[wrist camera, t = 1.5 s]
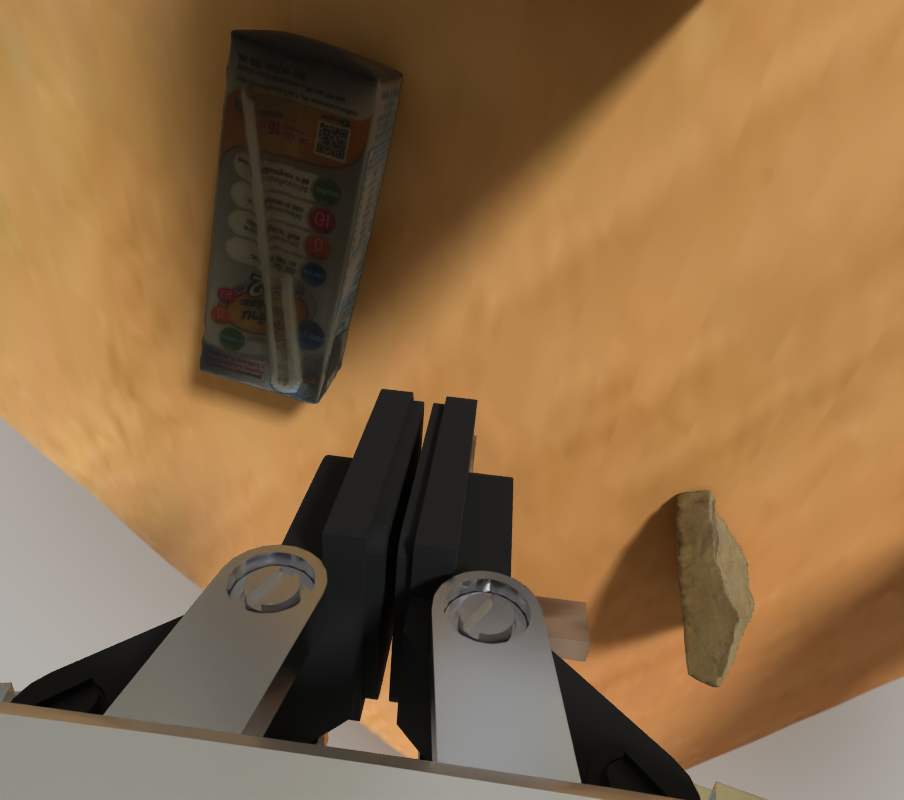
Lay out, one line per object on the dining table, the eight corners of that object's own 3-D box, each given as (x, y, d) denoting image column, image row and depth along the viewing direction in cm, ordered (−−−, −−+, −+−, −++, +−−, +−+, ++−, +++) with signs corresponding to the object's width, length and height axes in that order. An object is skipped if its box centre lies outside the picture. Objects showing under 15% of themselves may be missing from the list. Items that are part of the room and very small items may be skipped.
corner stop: (620, 452, 47) (628, 486, 43) (581, 621, 55) (585, 661, 51) (440, 431, 48) (434, 463, 44) (426, 601, 55) (420, 639, 52)
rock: (645, 491, 46) (610, 613, 49) (758, 562, 39) (709, 697, 43) (742, 470, 52) (705, 580, 55) (853, 529, 45) (803, 649, 49)
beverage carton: (229, 335, 46) (186, 378, 40) (268, 21, 37) (220, 17, 31) (343, 368, 46) (317, 415, 40) (409, 65, 37) (387, 69, 32)
